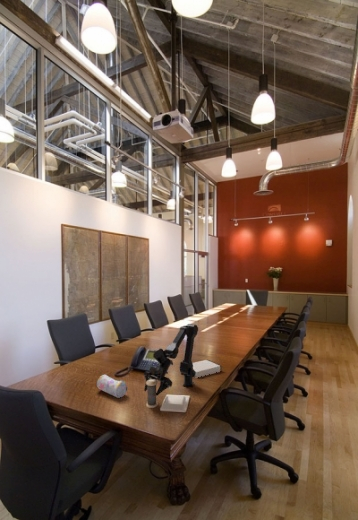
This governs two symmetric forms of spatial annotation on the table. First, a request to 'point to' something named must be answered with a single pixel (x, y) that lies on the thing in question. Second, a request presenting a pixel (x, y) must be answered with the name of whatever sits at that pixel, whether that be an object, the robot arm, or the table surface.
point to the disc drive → (205, 368)
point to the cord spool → (151, 393)
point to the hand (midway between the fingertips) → (150, 393)
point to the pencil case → (112, 386)
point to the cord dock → (175, 403)
